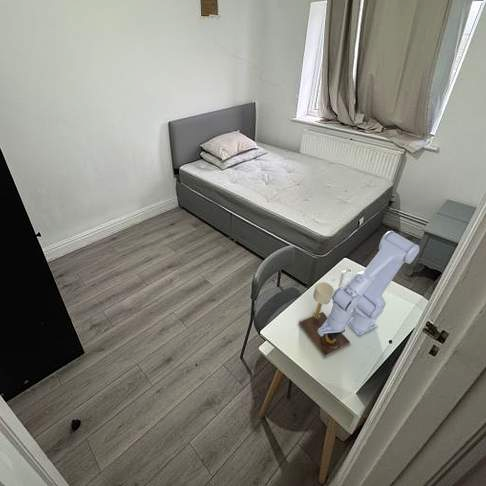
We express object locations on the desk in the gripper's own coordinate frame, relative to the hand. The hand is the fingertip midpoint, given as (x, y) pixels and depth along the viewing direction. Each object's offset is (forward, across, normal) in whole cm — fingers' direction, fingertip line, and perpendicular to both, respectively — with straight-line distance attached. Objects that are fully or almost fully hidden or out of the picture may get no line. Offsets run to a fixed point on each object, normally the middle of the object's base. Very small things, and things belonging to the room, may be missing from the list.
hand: (330, 337), depth 108 cm
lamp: (+1, -2, -10) cm, 10 cm away
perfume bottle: (+4, -22, -16) cm, 28 cm away
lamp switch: (+2, 0, 0) cm, 2 cm away
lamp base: (+4, -1, -4) cm, 6 cm away
